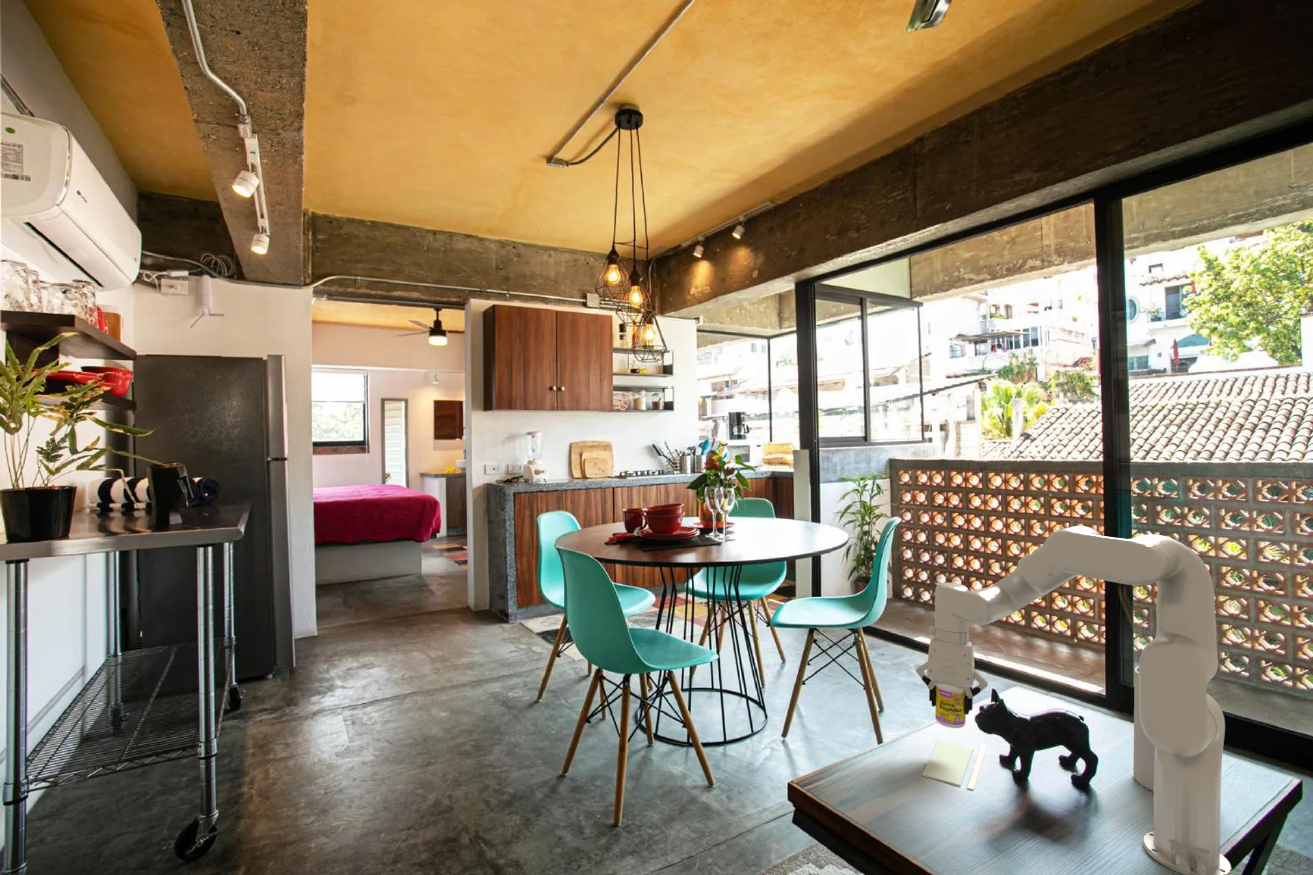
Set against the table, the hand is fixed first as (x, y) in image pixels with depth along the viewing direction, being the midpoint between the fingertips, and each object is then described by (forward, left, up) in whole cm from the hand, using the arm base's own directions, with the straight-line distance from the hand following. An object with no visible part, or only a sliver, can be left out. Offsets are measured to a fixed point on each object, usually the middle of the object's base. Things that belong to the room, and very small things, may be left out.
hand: (950, 707), depth 152 cm
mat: (-2, 0, -12) cm, 13 cm away
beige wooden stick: (0, -6, -12) cm, 14 cm away
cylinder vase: (+15, -43, -13) cm, 47 cm away
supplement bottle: (0, 0, -4) cm, 4 cm away
